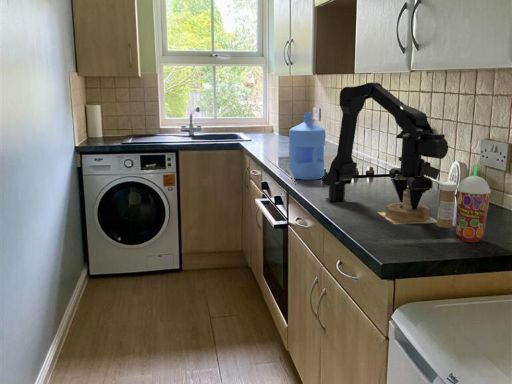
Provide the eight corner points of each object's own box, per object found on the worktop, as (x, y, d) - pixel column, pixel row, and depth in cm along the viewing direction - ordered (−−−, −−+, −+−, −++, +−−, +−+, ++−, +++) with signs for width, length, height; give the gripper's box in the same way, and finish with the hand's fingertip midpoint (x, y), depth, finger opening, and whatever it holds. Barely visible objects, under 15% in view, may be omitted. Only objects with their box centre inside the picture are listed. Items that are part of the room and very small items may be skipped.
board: (376, 214, 162) (377, 211, 161) (419, 213, 163) (419, 210, 163) (393, 227, 148) (393, 224, 148) (439, 226, 149) (439, 222, 149)
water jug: (281, 175, 228) (282, 112, 222) (311, 172, 235) (313, 111, 229) (300, 181, 214) (301, 114, 208) (331, 178, 221) (333, 113, 215)
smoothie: (452, 242, 135) (458, 167, 130) (452, 233, 142) (458, 162, 138) (486, 245, 132) (494, 169, 128) (485, 236, 139) (492, 164, 135)
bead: (381, 212, 161) (381, 203, 160) (418, 211, 162) (418, 202, 161) (395, 223, 149) (396, 213, 148) (435, 221, 150) (435, 212, 149)
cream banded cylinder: (399, 215, 157) (401, 190, 155) (410, 215, 157) (412, 190, 155) (404, 218, 154) (405, 192, 152) (414, 218, 154) (416, 192, 152)
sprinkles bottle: (440, 225, 150) (443, 180, 147) (455, 228, 147) (459, 182, 144) (433, 229, 146) (436, 183, 144) (448, 232, 143) (452, 185, 141)
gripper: (452, 159, 143) (447, 213, 146) (424, 150, 161) (420, 198, 165) (414, 159, 142) (410, 214, 145) (389, 150, 160) (387, 199, 163)
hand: (407, 205), depth 155 cm, fingers open, 9 cm apart
